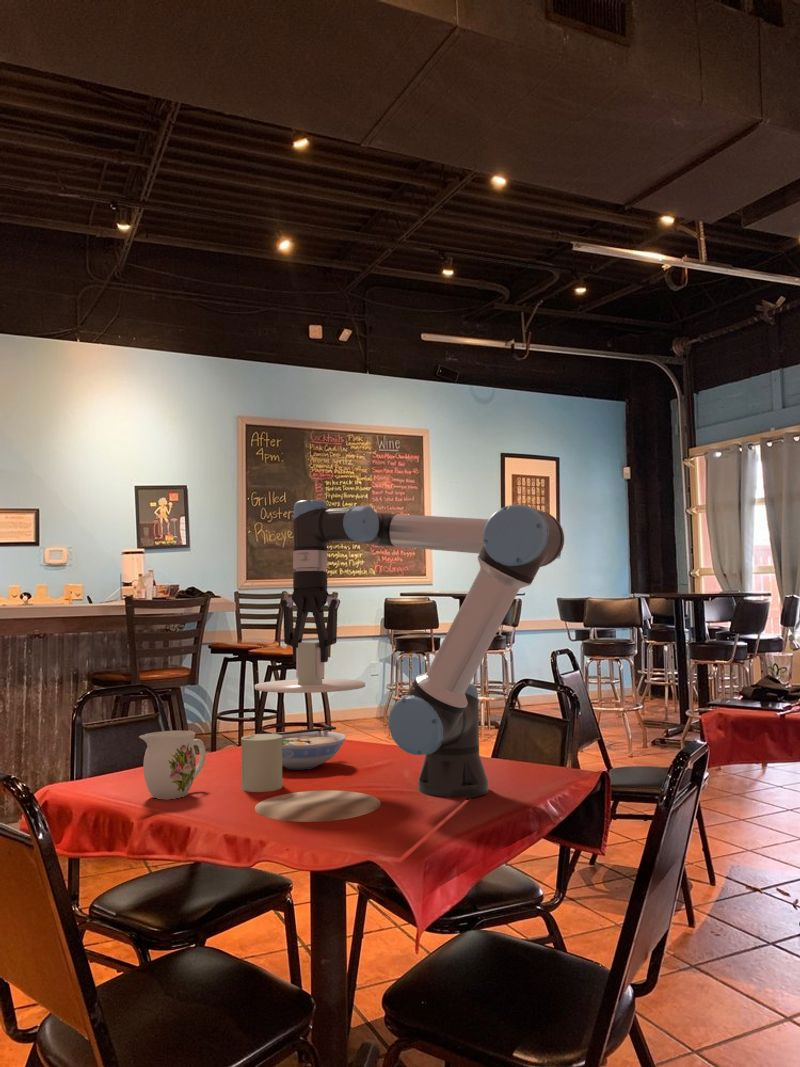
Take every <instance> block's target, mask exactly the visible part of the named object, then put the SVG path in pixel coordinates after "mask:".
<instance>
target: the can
mask: <svg viewBox="0 0 800 1067" xmlns="http://www.w3.org/2000/svg"><path fill="white" fill-rule="evenodd" d="M282 738H283V736H282V735H278V734H273V733H256V734H255V733H254V734H248V735H244V736H242V737H241V738H240V742H241V743H240V744H241V745H240V746H241V782H240V783H241V786H240V787H241V788H240V789H241V791H244V792H249V793H266V792H274V791H278V790H280V789H282V788H283V766H282Z"/></svg>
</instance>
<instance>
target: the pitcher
mask: <svg viewBox="0 0 800 1067" xmlns="http://www.w3.org/2000/svg"><path fill="white" fill-rule="evenodd" d="M195 736H196V732H194V731H192V730H164V731H155V732H150V733H145V734H141V735H139V736H138V738H139V739H142V740H143V741H144V742H145V744H146V746H147V747H146V749H145V753H144V757H143V765H142V766H143V777H144V781H145V784H146V787H147V790H148V792H149V793H150V795H151V796H152V797H153V799H154V798H159V799H174V798H179V799H181V798H180V797H183V798H185V797H186V795H187V794H188V793H189V791H190V789H191V788H192V785H193V782H194V781H195V780H194V779H195V778H196V777H198V776H199V775H200V773H201V772H202V770H203V768H204V766H205V764H206V758H207V755H206V746H205V744H204V742H203V741H202V739H199V738H195ZM194 746H197V747H198V750H199V760H198V763H197V754H196V751H195V747H194ZM184 796H185V797H184ZM174 800H175V799H174Z"/></svg>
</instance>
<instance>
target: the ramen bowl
mask: <svg viewBox="0 0 800 1067" xmlns="http://www.w3.org/2000/svg"><path fill="white" fill-rule="evenodd" d="M333 730H337V727H336V726H333V725H330V726H323V727H322V726H321V727H314V728H307V729H300V730H293V731H283V732H282V731H281V732H274V733H272V734H278V735H282V736H283V738H282V767H285V768H286V769H288V770H290V771H293V770H294V771H304V770H305V769H307V770H312V769H315V768H316V767H317V766H319V765H321V764H325V763H326V762H328V761H330V760H331V759H333V758H334V756H335V755H337V753H338V752H339V751H340V750H341V747H342V745H344V743H345V740H346V738H347V736H346V734H344V733H340V732H335V731H333ZM314 767H315V768H314Z"/></svg>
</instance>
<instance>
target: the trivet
mask: <svg viewBox="0 0 800 1067" xmlns="http://www.w3.org/2000/svg"><path fill="white" fill-rule="evenodd" d="M381 804H382V803H381V800H380V799H379V798H377V797H375V796H373V795H371V794H366V793H362V792H356V791H347V790H308V791H297V792H289V793H286V794H285V793H284V794H280V795H276V796H272V797H269V798H266V799H264V800H261V801H260V802H258V803H257V804H256V805H255V806H254V810H255V812H256V813H257V814H259V815H260V816H261V817H264V818H268V819H272V820H277V821H285V822H296V823H297V822H300V823H301V822H304V823H305V822H306V823H311V822H312V823H313V822H315V823H316V822H331V821H338V820H339V821H341V820H346V819H352V818H356V817H361V816H364V815H367V814H370V813H372V812H374V811H376V810H378V809H379V808H380V806H381Z"/></svg>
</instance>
